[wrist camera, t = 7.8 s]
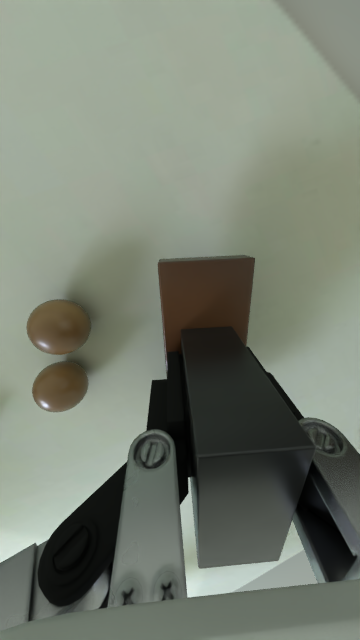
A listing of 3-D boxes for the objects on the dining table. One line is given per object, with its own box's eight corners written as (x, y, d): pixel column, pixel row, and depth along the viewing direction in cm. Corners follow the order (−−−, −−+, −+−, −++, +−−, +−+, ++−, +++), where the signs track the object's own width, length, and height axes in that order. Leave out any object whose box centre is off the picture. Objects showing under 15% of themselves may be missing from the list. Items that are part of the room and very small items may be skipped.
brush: (159, 258, 9) (135, 316, 3) (242, 254, 10) (421, 298, 3) (172, 424, 14) (175, 609, 7) (229, 420, 14) (288, 597, 7)
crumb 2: (43, 353, 13) (11, 384, 11) (89, 351, 13) (69, 381, 11) (56, 389, 14) (30, 425, 12) (98, 386, 15) (82, 422, 12)
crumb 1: (40, 294, 12) (1, 312, 9) (92, 291, 12) (69, 308, 9) (54, 339, 13) (24, 367, 10) (102, 336, 13) (84, 364, 10)
